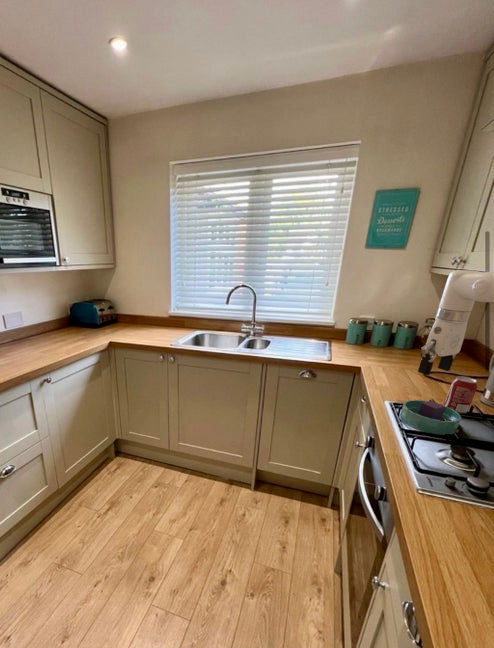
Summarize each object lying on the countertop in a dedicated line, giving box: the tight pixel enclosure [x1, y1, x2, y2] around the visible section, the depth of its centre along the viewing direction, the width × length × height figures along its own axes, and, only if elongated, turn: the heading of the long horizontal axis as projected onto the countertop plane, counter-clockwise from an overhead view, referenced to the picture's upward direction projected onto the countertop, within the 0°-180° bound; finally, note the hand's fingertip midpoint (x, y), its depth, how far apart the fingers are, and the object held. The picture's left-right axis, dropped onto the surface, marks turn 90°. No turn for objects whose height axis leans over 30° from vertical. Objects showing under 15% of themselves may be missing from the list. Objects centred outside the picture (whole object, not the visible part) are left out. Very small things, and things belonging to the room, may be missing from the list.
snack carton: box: [418, 400, 445, 420], centre depth 105 cm, size 4×4×6 cm
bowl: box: [399, 399, 462, 436], centre depth 106 cm, size 15×15×5 cm
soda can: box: [443, 375, 478, 415], centre depth 114 cm, size 7×7×12 cm
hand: (433, 371), depth 101 cm, fingers open, 9 cm apart
